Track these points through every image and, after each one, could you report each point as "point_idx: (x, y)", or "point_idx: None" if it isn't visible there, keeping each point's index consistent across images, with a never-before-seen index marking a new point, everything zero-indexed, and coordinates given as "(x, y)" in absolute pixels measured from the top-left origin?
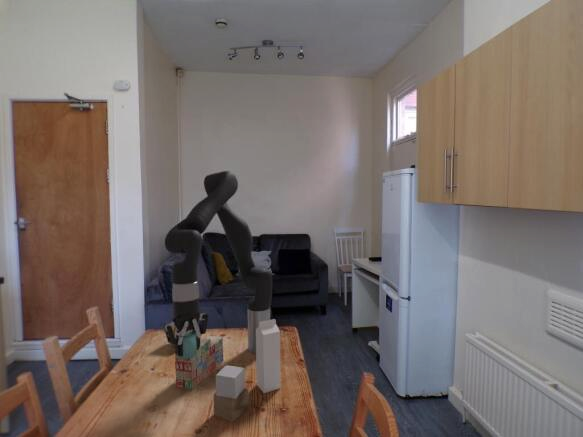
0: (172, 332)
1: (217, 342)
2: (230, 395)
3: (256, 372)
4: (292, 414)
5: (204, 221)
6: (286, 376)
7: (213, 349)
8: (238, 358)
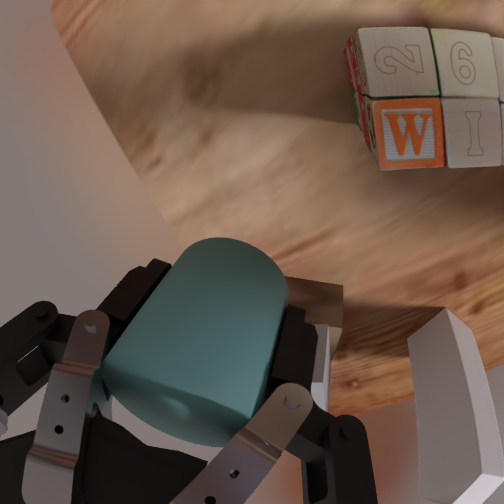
0: (8, 409)
1: None
2: None
3: (453, 336)
4: (341, 396)
5: None
6: (488, 347)
7: None
8: None
